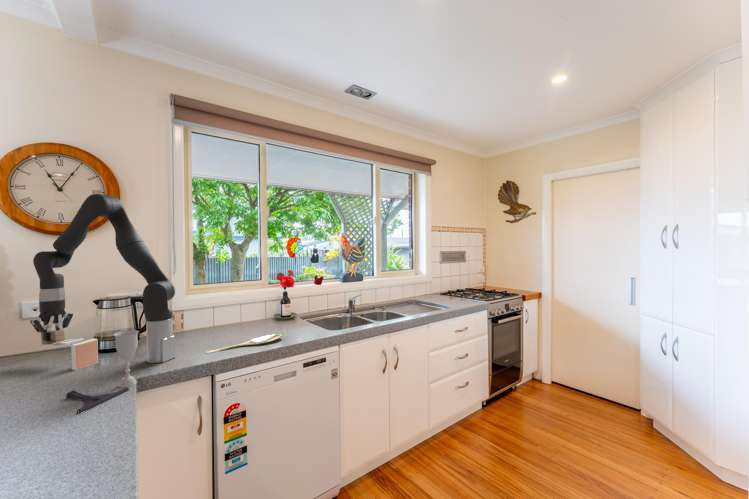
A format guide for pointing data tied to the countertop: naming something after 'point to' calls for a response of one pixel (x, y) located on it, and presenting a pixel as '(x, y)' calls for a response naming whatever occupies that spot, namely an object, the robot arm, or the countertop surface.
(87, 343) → the tile
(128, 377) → the chalice
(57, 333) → the turner
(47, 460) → the countertop surface
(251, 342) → the spoon
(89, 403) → the bracket
